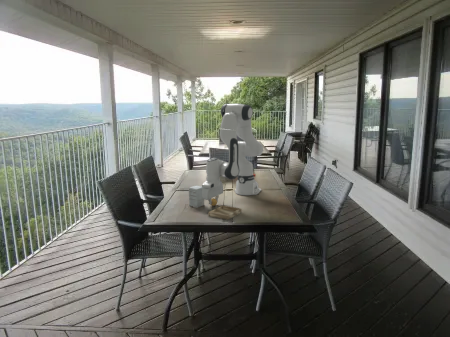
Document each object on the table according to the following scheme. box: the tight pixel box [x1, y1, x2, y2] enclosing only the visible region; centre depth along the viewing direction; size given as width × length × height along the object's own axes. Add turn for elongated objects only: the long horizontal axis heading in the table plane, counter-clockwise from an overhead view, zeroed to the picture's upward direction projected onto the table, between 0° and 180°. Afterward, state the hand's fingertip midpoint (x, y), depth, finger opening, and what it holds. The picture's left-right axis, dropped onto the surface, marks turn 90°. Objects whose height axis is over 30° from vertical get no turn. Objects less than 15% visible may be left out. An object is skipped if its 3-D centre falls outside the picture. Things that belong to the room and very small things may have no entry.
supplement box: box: [188, 185, 205, 208], centre depth 232 cm, size 7×7×13 cm
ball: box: [210, 197, 218, 207], centre depth 232 cm, size 5×5×5 cm
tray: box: [207, 204, 243, 221], centre depth 215 cm, size 16×14×2 cm
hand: (213, 203), depth 232 cm, fingers closed on ball, 5 cm apart
